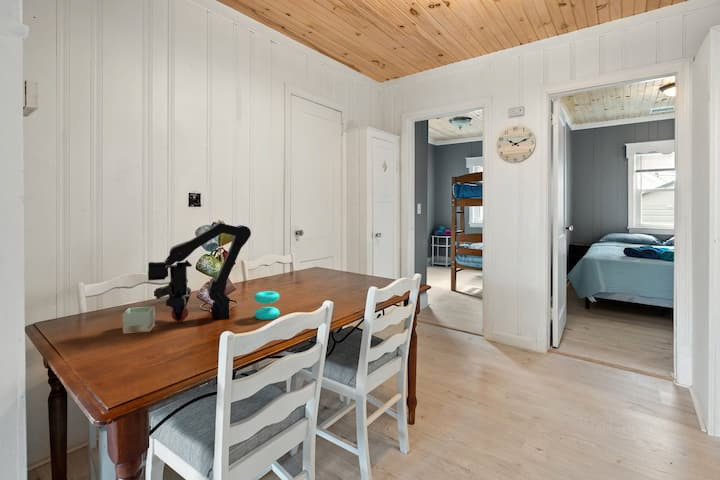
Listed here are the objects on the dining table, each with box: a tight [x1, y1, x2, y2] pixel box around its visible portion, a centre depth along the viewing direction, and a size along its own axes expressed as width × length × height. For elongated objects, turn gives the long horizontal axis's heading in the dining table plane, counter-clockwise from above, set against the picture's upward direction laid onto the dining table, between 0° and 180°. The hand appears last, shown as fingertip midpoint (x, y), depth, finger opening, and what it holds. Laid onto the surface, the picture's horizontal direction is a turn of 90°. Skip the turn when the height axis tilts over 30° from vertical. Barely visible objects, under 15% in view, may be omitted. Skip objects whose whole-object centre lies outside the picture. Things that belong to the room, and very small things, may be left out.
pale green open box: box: [122, 306, 156, 328], centre depth 137 cm, size 8×8×4 cm
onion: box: [171, 306, 189, 324], centre depth 145 cm, size 6×6×8 cm
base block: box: [122, 317, 156, 334], centre depth 138 cm, size 8×8×3 cm
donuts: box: [254, 290, 280, 321], centre depth 154 cm, size 10×10×10 cm
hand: (179, 317), depth 145 cm, fingers closed on onion, 6 cm apart
